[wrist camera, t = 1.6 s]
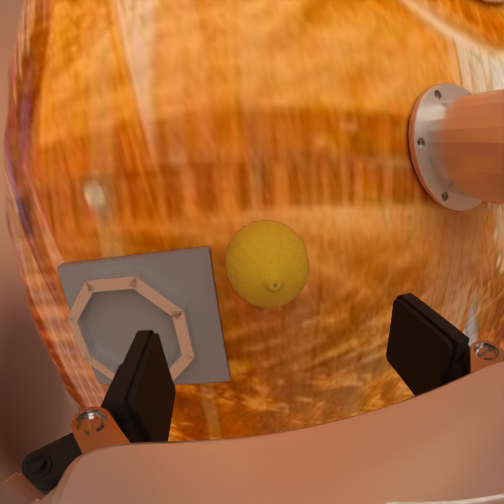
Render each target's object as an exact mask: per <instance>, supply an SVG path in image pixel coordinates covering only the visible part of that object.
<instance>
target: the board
mask: <svg viewBox="0 0 504 504" xmlns="http://www.w3.org/2000/svg"><path fill="white" fill-rule="evenodd" d="M57 269H58V273H59V276H60V280H61V283H62V287H63V290H64V294H65V297H66V300H67V303H68V306H69V309H70V310H71V308H72V306H73V304H74V302H75V300H76V298H77V296H78V294H79V292H80V291H81V289H82V287H83V285H84V283H85V281H86V280H87V279H88V278H89V277H90V276H92V275H93V274H102V273H112V272H121V271H131V270H140V269H141V270H142V271H144V272H145V273H146V274H148V275H149V276H150V277H152V278H153V279H154V280H156V281H157V282H158V283H160V284H161V285H162V286H164V287H165V288H167V289H168V290H169V291H171V292H172V293H174V294H175V295H176V296H178V297H179V298H181V299H182V300H183V301H185V302H186V304H187V309H188V314H189V319H190V324H191V328H192V333H193V337H194V342H195V346H196V352H195V358H194V359H193V360H192V361H191V362H190V363H189V365H188V366H187V367H186V368H185V369H184V370H183V371H182V372H181V373H180V374H179V375H178V376H177V377H176V378H175V379H174V381H173V383H174V384H196V383H212V382H225V381H230V371H229V365H228V359H227V354H226V348H225V342H224V336H223V330H222V324H221V318H220V312H219V305H218V299H217V293H216V286H215V279H214V272H213V265H212V258H211V251H210V246H206V247H197V248H188V249H179V250H171V251H162V252H154V253H145V254H137V255H128V256H120V257H112V258H104V259H96V260H88V261H80V262H72V263H64V264H61V265H60V266H58V267H57ZM84 316H85V319H86V322H87V325H88V328H89V331H90V333H91V336H92V339H93V341H94V344H95V347H96V348H97V349H98V350H100V351H101V352H102V353H104V354H105V355H107V356H108V357H109V358H111V359H112V360H114V361H115V362H117V363H118V364H122V363H123V361H124V359H125V357H126V355H127V352H128V350H129V348H130V346H131V344H132V342H133V340H134V337H135V335H136V333H137V332H138V331H140V330H153V331H154V333H158V334H159V336H160V340H161V343H162V347H163V350H164V354H165V357H166V361H167V364H168V363H169V362H170V361H171V360H172V358H173V357H174V356H175V355H176V354H177V353H178V352H179V350H180V346H179V342H178V338H177V334H176V330H175V326H174V322H173V317H172V316H171V315H169V314H168V313H166V312H165V311H164V310H162V309H161V308H159V307H158V306H157V305H155V304H154V303H152V302H151V301H150V300H148V299H147V298H145V297H144V296H143V295H141V294H140V293H139V292H137V291H136V290H135V289H125V290H113V291H100V292H95V294H94V296H93V298H92V300H91V301H90V303H89V305H88V307H87V309H86V310H85V312H84ZM91 367H92V369H93V371H94V373H95V375H96V378H97V380H98V382H99V384H111V382H112V379H110V378H109V377H107V376H106V375H104V374H103V373H101V372H100V371H98V370H97V369H95V368H94V367H93V366H91Z"/></svg>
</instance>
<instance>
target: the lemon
mask: <svg viewBox="0 0 504 504" xmlns="http://www.w3.org/2000/svg"><path fill="white" fill-rule="evenodd" d="M225 268H226V274H227V277H228V280H229V282H230V284H231V286H232V288H233V289H234V290H235V291H236V293H237V294H238V295H239V296H240V297H241V298H242V299H244V300H245V301H246V302H248V303H250V304H252V305H255V306H257V307H263V308H274V307H279V306H282V305H285V304H287V303H288V302H290V301H292V300H293V299H294V298H295V297H296V296H297V295H298V294H299V293H300V292H301V290H302V289H303V287H304V286H305V283H306V280H307V277H308V271H309V260H308V255H307V250H306V248H305V246H304V244H303V242H302V240H301V239H300V237H299V236H298V235H297V234H296V233H295V232H294V231H293V230H292V229H290V228H289V227H287V226H286V225H284V224H281V223H279V222H276V221H268V220H262V221H256V222H252V223H250V224H248V225H246V226H244V227H243V228H242V229H240V230H239V231H238V232H237V233H236V234H235V235H234V237H233V238H232V239H231V241H230V243H229V246H228V248H227V250H226V257H225Z"/></svg>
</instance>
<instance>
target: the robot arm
mask: <svg viewBox="0 0 504 504" xmlns="http://www.w3.org/2000/svg"><path fill="white" fill-rule="evenodd" d="M408 134H409V148H410V154H411V159H412V163H413V166H414V169H415V172H416V174H417V176H418V178H419V181H420V183H421V184H422V186H423V187H424V189H425V190H426V192H427V193H428V194H429V195H430V197H431V198H432V199H433V200H434V201H436V202H437V203H438V204H440V205H441V206H443V207H446V208H448V209H451V210H456V211H468V210H471V209H473V208H475V207H477V206H478V205H479V204H481V203H482V202H483V201H487V202H491V203H495V204H499V205H503V206H504V89H503V90H496V91H489V92H483V93H477V94H471V93H470V92H469V91H467V90H466V89H464V88H463V87H460V86H458V85H455V84H449V83H445V84H438V85H435V86H433V87H430V88H428V89H427V90H426V91H424V92H423V93H422V94H421V95H420V97H419V98H418V99H417V101H416V103H415V105H414V107H413V109H412V113H411V117H410V122H409V132H408ZM468 342H469V338H468V337H467V336H466V335H464V334H463V333H462V332H461V331H460V330H458V329H457V328H456V327H455V326H453V325H452V324H451V323H449V322H448V321H447V320H446V319H444V318H443V317H442V316H441V315H439V314H438V313H437V312H435V311H434V310H433V309H432V308H430V307H429V306H428V305H426V304H425V303H424V302H422V301H421V300H420V299H418V298H417V297H416V296H414V295H413V294H411V293H408V294H403V295H399V296H398V297H397V298H396V300H394V302H393V310H392V318H391V326H390V333H389V340H388V346H387V352H386V356H387V360H388V361H389V363H390V364H391V365H392V367H393V368H394V369H395V370H396V372H397V373H398V374H399V376H400V377H401V378H402V379H403V381H404V382H405V383H406V385H407V386H408V387H409V389H410V390H411V391H412V392H413V394H414V395H415V397H412V398H409V399H406V400H404V401H401V402H398V403H395V404H392V405H389V406H386V407H383V408H379V409H376V410H373V411H370V412H366V413H363V414H359V415H356V416H352V417H348V418H344V419H340V420H336V421H332V422H328V423H324V424H319V425H314V426H310V427H305V428H299V429H294V430H288V431H282V432H276V433H270V434H263V435H255V436H247V437H238V438H227V439H214V440H196V441H171V442H168V437H169V430H170V424H171V418H172V411H173V405H174V400H175V386H174V383H173V380H172V377H171V374H170V370H169V367H168V364H167V361H166V357H165V354H164V350H163V347H162V343H161V340H160V336H159V334H158V333H154V331H153V330H140V331H138V332H137V333H136V335H135V337H134V340H133V342H132V344H131V346H130V348H129V350H128V352H127V355H126V357H125V359H124V361H123V363H122V364H120V365H119V367H118V369H117V371H116V373H115V376H114V378H113V380H112V382H111V384H110V387H109V389H108V391H107V394H106V396H105V398H104V401H103V403H102V405H101V407H89V408H85V409H83V410H81V411H79V412H78V413H77V414H76V415H75V416H74V417H73V419H72V421H71V430H72V433H70V434H69V435H67V436H64V437H63V438H61V439H58V440H56V441H54V442H52V443H50V444H48V445H46V446H44V447H42V448H40V449H38V450H36V451H33V452H31V453H30V454H28V455H27V456H26V457H25V459H24V461H23V463H22V473H21V474H20V475H18V474H17V473H15V474H14V475H12V476H11V477H10V478H9V479H8V480H7V481H5V482H4V483H3V484H2V485H0V504H504V357H503V352H502V350H501V348H500V347H499V346H498V345H496V344H495V343H493V342H490V341H477V342H475V343H473V344H472V346H471V348H470V347H469V346H468Z"/></svg>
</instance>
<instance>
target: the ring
mask: <svg viewBox="0 0 504 504" xmlns="http://www.w3.org/2000/svg"><path fill="white" fill-rule="evenodd" d="M125 289H135V290H136V291H137V292H139V293H140V294H141V295H143V296H144V297H145V298H147V299H148V300H150V301H151V302H152V303H154V304H155V305H157V306H158V307H159V308H161V309H162V310H164V311H165V312H166V313H168V314H169V315H171V316H172V317H173V322H174V326H175V330H176V334H177V338H178V342H179V346H180V350H179V352H178V353H177V354H176V355H175V356H174V357H173V358H172V360H171V361H170V362H169V363H168V367H169V370H170V374H171V377H172V380H173V381H174V379H175V378H176V377H177V376H178V375H179V374H180V373H181V372H182V371H183V370H184V369H185V368H186V367H187V366H188V365H189V363H190V362H191V361H192V360H193V359H194V358H195V352H196V346H195V342H194V337H193V333H192V328H191V324H190V319H189V314H188V309H187V304H186V302H185V301H183V300H182V299H181V298H179V297H178V296H176V295H175V294H174V293H172V292H171V291H169V290H168V289H167V288H165V287H164V286H162V285H161V284H160V283H158V282H157V281H156V280H154V279H153V278H152V277H150V276H149V275H148V274H146V273H145V272H144V271H142V270H141V269H140V270H131V271H121V272H112V273H102V274H93V275H92V276H90V277H89V278H88V279H87V280H86V281H85V283H84V285H83V287H82V289H81V291H80V292H79V294H78V296H77V298H76V300H75V302H74V304H73V306H72V308H71V310H70V312H69V314H68V316H67V319H68V322H69V325H70V327H71V330H72V333H73V335H74V338H75V341H76V343H77V346H78V348H79V350H80V353H81V355H82V358H83V360H84V361H86V362H87V363H88V364H90V365H91V366H93V367H94V368H95V369H97V370H98V371H100V372H101V373H103V374H104V375H106V376H107V377H109V378H110V379H112V380H113V378H114V376H115V373H116V371H117V369H118V367H119V365H120V364H118V363H117V362H115V361H114V360H112V359H111V358H109V357H108V356H107V355H105V354H104V353H102V352H101V351H100V350H98V349H97V348H96V347H95V344H94V341H93V339H92V336H91V333H90V331H89V328H88V325H87V322H86V319H85V316H84V312H85V310H86V309H87V307H88V305H89V303H90V301H91V300H92V298H93V296H94V294H95V292H100V291H113V290H125Z"/></svg>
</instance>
